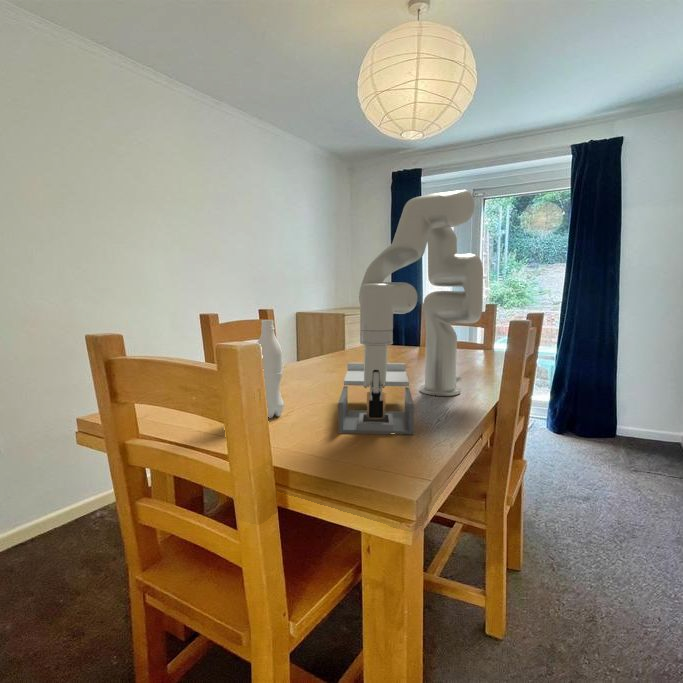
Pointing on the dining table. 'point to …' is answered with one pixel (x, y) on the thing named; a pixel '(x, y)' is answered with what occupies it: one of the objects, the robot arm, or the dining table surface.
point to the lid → (356, 370)
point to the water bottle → (271, 368)
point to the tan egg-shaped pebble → (383, 404)
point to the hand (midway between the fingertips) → (375, 413)
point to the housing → (362, 424)
